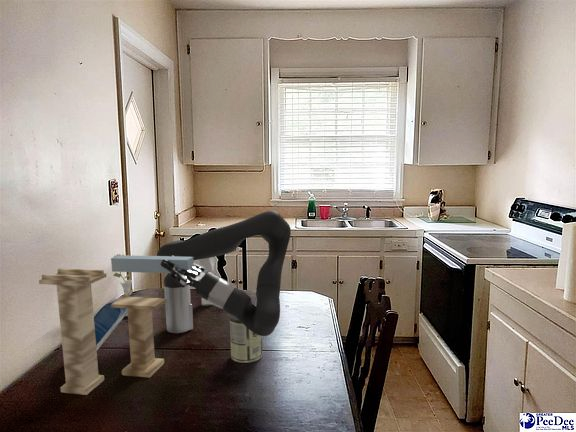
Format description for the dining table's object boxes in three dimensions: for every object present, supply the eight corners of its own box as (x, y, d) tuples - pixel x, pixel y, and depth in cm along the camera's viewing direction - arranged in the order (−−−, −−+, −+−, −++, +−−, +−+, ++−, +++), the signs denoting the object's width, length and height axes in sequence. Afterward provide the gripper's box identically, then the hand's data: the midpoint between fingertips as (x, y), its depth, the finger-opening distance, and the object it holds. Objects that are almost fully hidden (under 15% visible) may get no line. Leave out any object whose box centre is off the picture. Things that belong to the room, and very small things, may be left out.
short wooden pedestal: (171, 363, 136) (167, 297, 133) (157, 378, 127) (153, 307, 124) (131, 360, 139) (126, 295, 136) (114, 374, 130) (109, 305, 127)
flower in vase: (148, 311, 182) (145, 253, 178) (125, 320, 172) (121, 259, 169) (128, 306, 189) (124, 250, 185) (105, 314, 179) (100, 255, 176)
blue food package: (64, 353, 132) (116, 288, 133) (80, 341, 144) (128, 282, 145) (80, 365, 132) (133, 300, 134) (95, 353, 144) (143, 293, 146)
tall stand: (114, 380, 126) (105, 269, 122) (95, 396, 118) (84, 278, 113) (72, 376, 129) (62, 267, 125) (50, 392, 121) (38, 276, 116)
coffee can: (238, 346, 147) (237, 306, 145) (267, 350, 144) (266, 310, 142) (224, 360, 137) (223, 318, 135) (254, 365, 134) (253, 321, 132)
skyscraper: (217, 306, 187) (214, 242, 183) (198, 306, 187) (195, 242, 183) (220, 300, 195) (218, 238, 191) (202, 300, 195) (199, 239, 191)
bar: (194, 270, 127) (193, 256, 126) (188, 273, 123) (187, 260, 122) (119, 268, 132) (118, 255, 131) (112, 271, 128) (111, 258, 127)
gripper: (229, 272, 130) (181, 243, 132) (212, 286, 116) (159, 254, 118) (219, 293, 132) (171, 264, 134) (200, 309, 118) (148, 277, 120)
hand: (166, 260), depth 126 cm, fingers closed on bar, 4 cm apart
